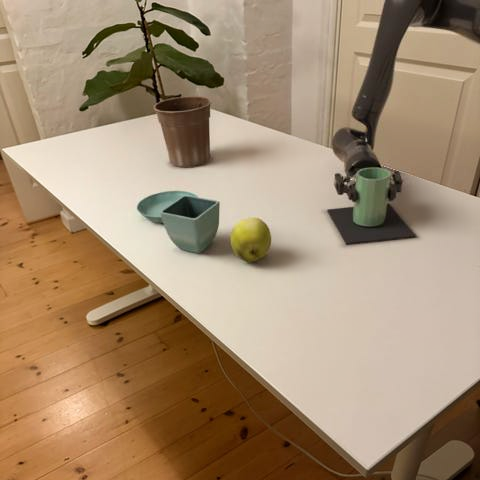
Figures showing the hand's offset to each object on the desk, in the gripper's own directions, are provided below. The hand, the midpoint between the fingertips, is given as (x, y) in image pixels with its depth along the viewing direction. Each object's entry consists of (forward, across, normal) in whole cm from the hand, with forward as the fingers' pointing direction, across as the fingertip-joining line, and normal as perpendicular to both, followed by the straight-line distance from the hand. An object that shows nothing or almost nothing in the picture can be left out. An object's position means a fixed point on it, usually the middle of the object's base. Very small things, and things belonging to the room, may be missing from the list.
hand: (373, 197), depth 92 cm
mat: (-2, 0, +7) cm, 7 cm away
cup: (-2, 0, +6) cm, 6 cm away
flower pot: (+6, -36, +7) cm, 37 cm away
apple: (+11, -24, +7) cm, 27 cm away
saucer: (-11, -45, +7) cm, 47 cm away
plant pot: (-48, -46, +7) cm, 66 cm away
